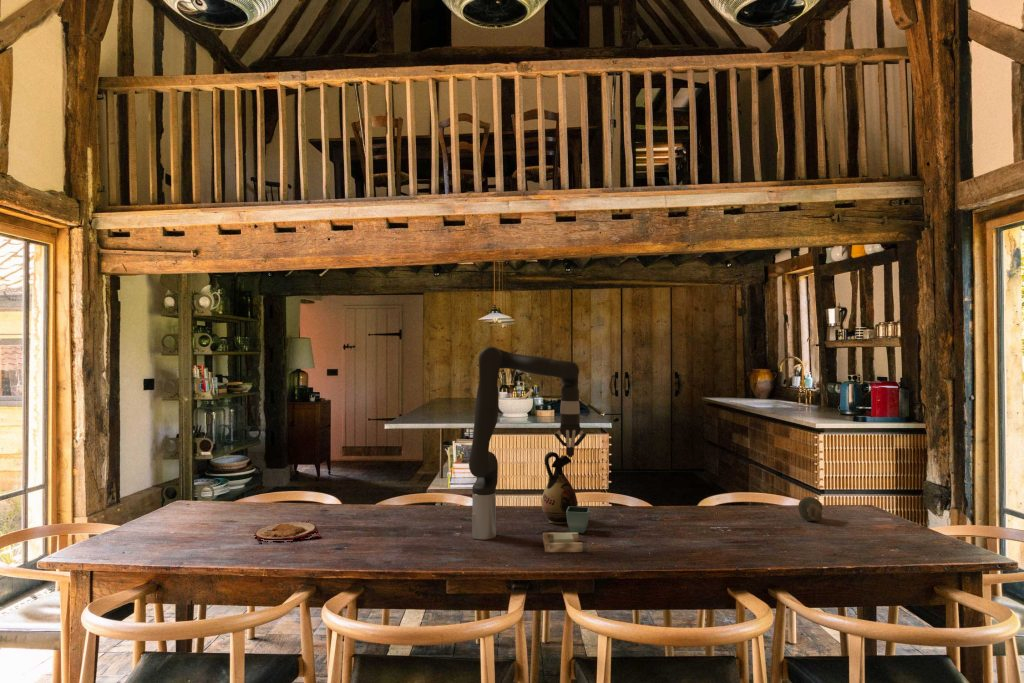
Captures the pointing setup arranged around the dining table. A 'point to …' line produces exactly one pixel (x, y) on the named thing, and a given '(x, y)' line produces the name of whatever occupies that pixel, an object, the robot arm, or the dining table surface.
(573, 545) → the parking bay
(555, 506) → the ceramic jug
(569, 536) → the cream footed box
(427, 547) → the dining table surface
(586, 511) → the flower pot
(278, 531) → the plate with food
